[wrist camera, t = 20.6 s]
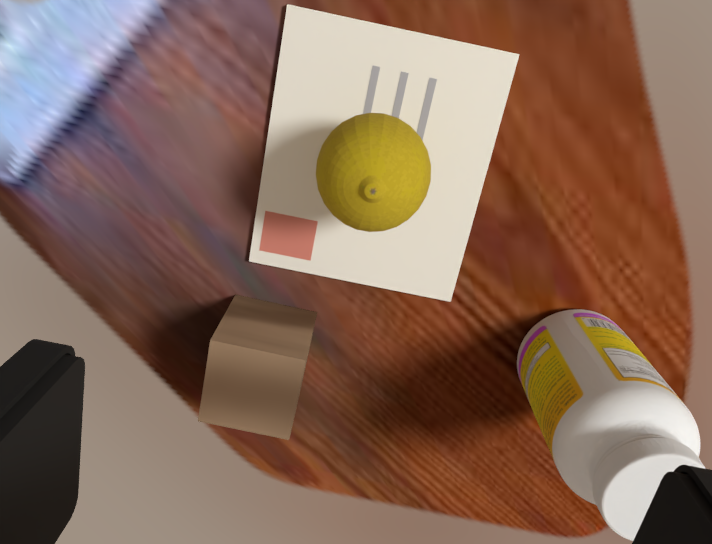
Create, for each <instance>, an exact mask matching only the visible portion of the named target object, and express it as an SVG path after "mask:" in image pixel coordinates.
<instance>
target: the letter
mask: <svg viewBox="0 0 712 544" xmlns="http://www.w3.org/2000/svg"><path fill="white" fill-rule="evenodd" d="M518 58H519V54H515V53H510V52H506V51H501V50H497V49H492V48H487V47H483V46H478V45H473V44H469V43H464V42H459V41H455V40H450V39H446V38H441V37H436V36H432V35H427V34H422V33H418V32H413V31H409V30H404V29H399V28H395V27H390V26H385V25H381V24H376V23H372V22H367V21H362V20H358V19H353V18H348V17H344V16H339V15H335V14H330V13H325V12H321V11H316V10H311V9H307V8H302V7H297V6H293V5H288V4H287V9H286V15H285V22H284V29H283V36H282V42H281V49H280V56H279V62H278V69H277V76H276V82H275V89H274V96H273V103H272V109H271V116H270V123H269V129H268V136H267V143H266V150H265V156H264V163H263V170H262V176H261V183H260V190H259V197H258V203H257V210H256V217H255V223H254V230H253V237H252V243H251V250H250V257H249V262H254V263H259V264H264V265H269V266H274V267H279V268H284V269H289V270H294V271H299V272H304V273H309V274H314V275H319V276H324V277H329V278H334V279H339V280H344V281H349V282H354V283H359V284H364V285H369V286H374V287H379V288H384V289H389V290H394V291H399V292H404V293H409V294H414V295H419V296H424V297H429V298H434V299H439V300H444V301H449V302H451V298H452V295H453V291H454V288H455V284H456V281H457V277H458V273H459V270H460V266H461V263H462V259H463V255H464V252H465V248H466V245H467V241H468V237H469V234H470V230H471V227H472V223H473V219H474V216H475V212H476V209H477V205H478V201H479V198H480V194H481V191H482V187H483V183H484V180H485V176H486V173H487V169H488V166H489V162H490V158H491V155H492V151H493V148H494V144H495V140H496V137H497V133H498V130H499V126H500V122H501V119H502V115H503V112H504V108H505V104H506V101H507V97H508V94H509V90H510V86H511V83H512V79H513V76H514V72H515V68H516V65H517V61H518ZM366 113H384V114H387V115H390V116H393V117H397V118H399V119H400V120H402V121H403V122H405V123H407V124H408V125H410V126H411V127H412V128H413V129H414V130H415V132H416V133H417V134H418V135H419V136H420V137H421V139H422V141H423V143H424V145H425V147H426V148H427V150H428V154H429V159H430V163H431V181H430V185H429V189H428V192H427V196H426V198H425V199H424V201H423V203H422V204H421V206H420V208H419V209H418V210H417V211H416V212H415V213H414V214H413V215H412V216H411V218H410V219H408V220H407V221H405V222H404V223H402V224H401V225H399V226H397V227H395V228H392V229H389V230H386V231H378V232H367V231H362V230H356V229H354V228H352V227H350V226H347V225H345V224H344V223H342V222H341V221H340V220H338V219H337V218H336V217H335V216H333V214H332V213H331V212H330V211H329V209H328V208H327V207H326V205H325V204H324V202H323V200H322V198H321V195H320V193H319V191H318V186H317V180H316V165H317V158H318V155H319V152H320V150H321V147H322V144H323V143H324V141H325V140H326V139H327V137H328V136H329V134H330V133H331V131H333V130H334V129H335V128H336V127H337V126H338V125H340V124H341V123H342V122H344V121H346V120H348V119H350V118H352V117H354V116H356V115H361V114H366Z"/></svg>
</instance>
